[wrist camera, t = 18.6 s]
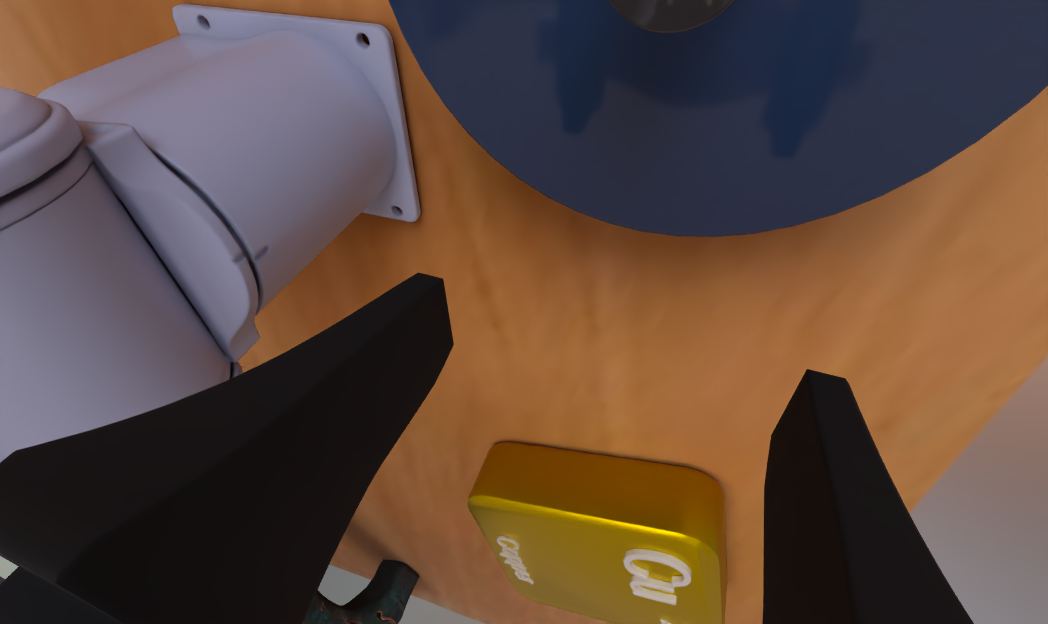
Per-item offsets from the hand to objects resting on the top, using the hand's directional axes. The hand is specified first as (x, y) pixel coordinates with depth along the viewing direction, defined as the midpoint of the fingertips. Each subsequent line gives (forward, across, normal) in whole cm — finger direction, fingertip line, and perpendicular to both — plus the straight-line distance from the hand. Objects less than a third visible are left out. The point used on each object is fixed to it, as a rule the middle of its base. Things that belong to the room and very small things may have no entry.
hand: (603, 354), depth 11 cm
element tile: (+10, 0, +27) cm, 29 cm away
